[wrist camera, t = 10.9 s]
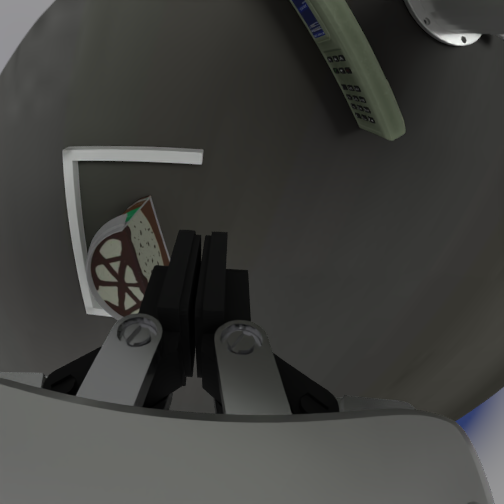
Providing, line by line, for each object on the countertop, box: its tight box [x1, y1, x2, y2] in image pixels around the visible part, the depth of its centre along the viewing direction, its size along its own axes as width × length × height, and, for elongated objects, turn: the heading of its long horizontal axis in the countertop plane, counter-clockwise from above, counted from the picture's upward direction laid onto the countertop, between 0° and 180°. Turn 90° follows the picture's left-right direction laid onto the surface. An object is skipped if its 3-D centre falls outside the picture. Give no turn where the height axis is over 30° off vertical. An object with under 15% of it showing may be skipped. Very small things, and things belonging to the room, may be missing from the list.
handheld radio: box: [289, 0, 406, 141], centre depth 23 cm, size 7×3×25 cm
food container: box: [86, 195, 170, 320], centre depth 32 cm, size 12×6×10 cm, turn 9°
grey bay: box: [62, 146, 204, 317], centre depth 36 cm, size 15×22×2 cm
